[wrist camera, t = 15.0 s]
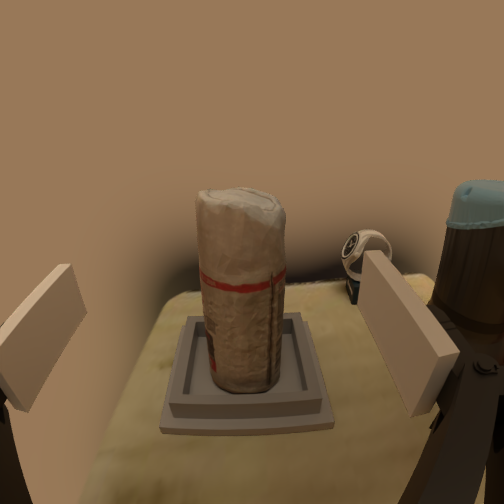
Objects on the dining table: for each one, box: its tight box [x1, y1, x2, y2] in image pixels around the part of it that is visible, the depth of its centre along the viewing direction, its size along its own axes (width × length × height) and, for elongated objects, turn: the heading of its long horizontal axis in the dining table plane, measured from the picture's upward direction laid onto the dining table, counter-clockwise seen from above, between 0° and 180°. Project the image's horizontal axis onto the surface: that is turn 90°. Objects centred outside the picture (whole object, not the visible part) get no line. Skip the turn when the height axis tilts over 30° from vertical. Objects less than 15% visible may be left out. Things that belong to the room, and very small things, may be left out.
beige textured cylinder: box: [195, 187, 286, 393], centre depth 30 cm, size 8×8×20 cm
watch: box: [341, 230, 392, 304], centre depth 47 cm, size 6×8×11 cm
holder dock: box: [159, 312, 335, 436], centre depth 34 cm, size 17×17×4 cm
